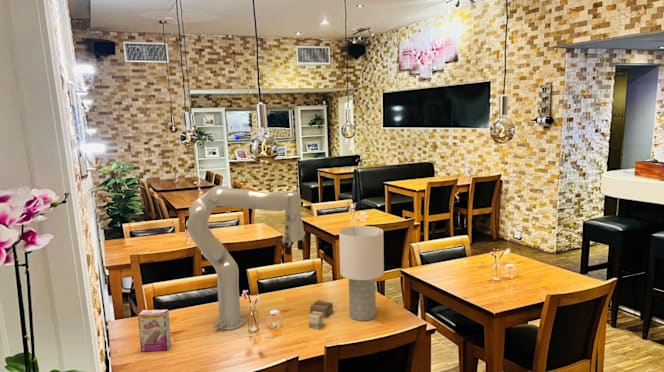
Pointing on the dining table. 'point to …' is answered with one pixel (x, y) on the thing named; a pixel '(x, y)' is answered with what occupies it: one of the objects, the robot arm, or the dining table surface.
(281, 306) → the dining table surface
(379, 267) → the lamp
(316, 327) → the oak block
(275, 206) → the robot arm
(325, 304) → the walnut base
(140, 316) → the candy bar box
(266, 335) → the dining table surface
